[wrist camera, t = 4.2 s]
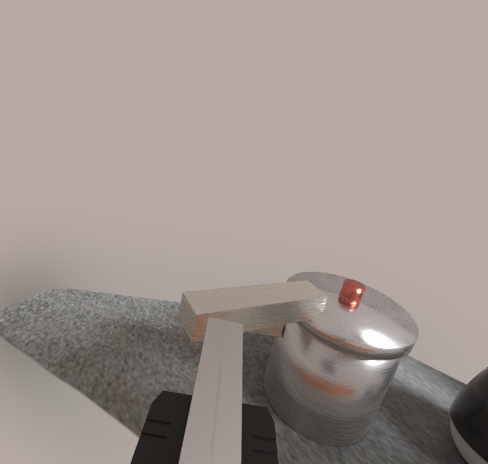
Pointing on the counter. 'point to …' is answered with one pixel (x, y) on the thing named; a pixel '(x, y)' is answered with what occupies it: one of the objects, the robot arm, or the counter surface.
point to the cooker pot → (323, 386)
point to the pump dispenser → (471, 420)
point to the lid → (310, 313)
